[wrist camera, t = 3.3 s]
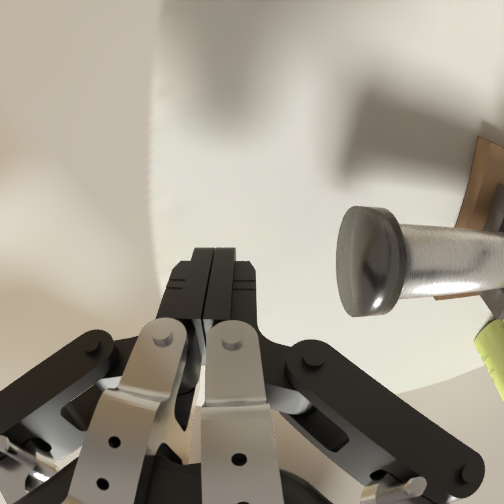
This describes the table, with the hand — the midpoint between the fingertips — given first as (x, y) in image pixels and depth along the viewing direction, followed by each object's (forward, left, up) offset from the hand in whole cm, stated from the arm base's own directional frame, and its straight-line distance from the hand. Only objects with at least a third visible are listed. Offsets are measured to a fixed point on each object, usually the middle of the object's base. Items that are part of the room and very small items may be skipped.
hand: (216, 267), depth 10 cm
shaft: (0, +15, -2) cm, 15 cm away
